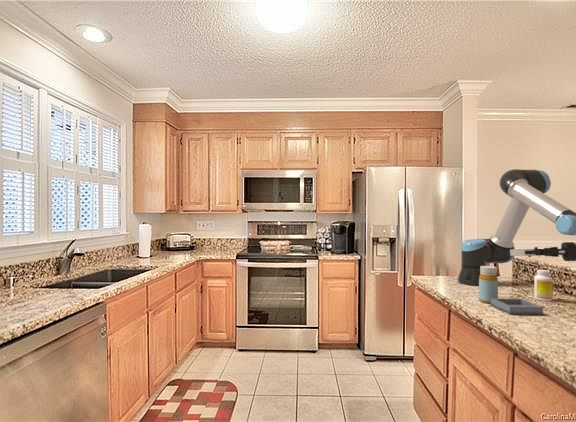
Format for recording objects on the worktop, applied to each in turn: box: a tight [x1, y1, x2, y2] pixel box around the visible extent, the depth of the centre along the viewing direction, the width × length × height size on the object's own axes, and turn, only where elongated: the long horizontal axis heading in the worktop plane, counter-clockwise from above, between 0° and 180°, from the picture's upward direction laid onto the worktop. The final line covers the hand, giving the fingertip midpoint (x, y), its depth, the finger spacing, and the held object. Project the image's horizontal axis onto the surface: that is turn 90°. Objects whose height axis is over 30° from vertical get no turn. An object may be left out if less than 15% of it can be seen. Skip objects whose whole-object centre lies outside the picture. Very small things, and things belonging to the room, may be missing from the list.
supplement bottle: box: [533, 269, 554, 302], centre depth 154 cm, size 7×7×13 cm
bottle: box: [478, 265, 499, 305], centre depth 150 cm, size 7×7×15 cm
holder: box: [490, 297, 544, 316], centre depth 138 cm, size 12×12×3 cm
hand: (512, 252), depth 148 cm, fingers open, 13 cm apart
